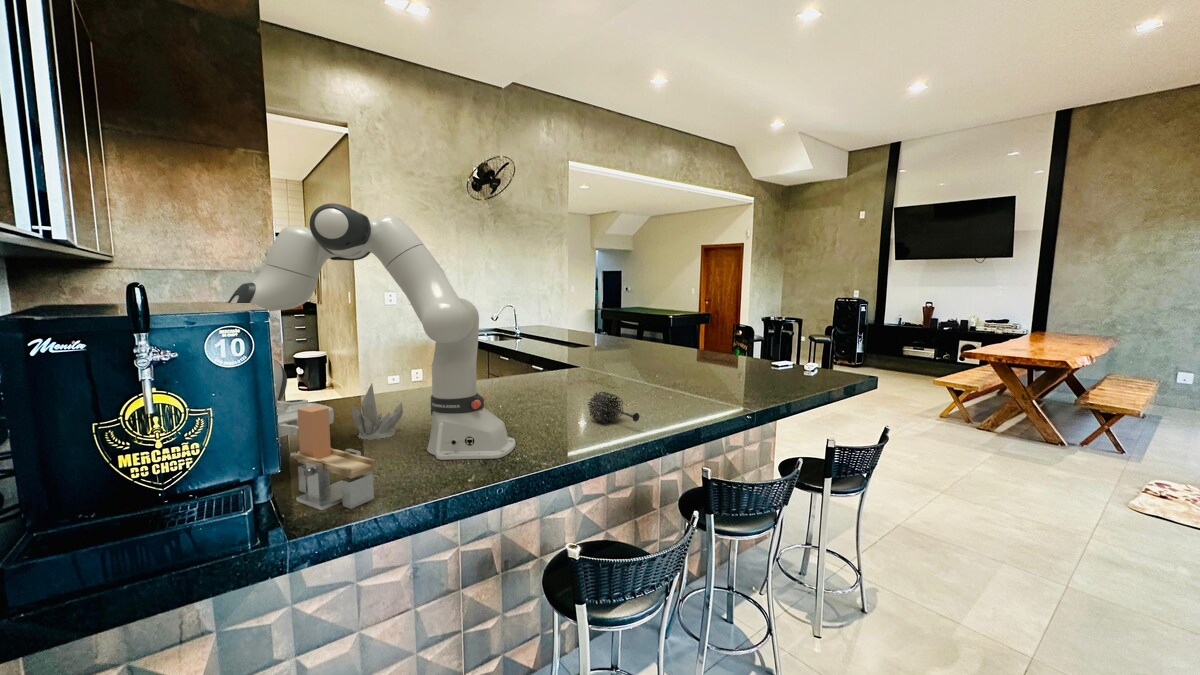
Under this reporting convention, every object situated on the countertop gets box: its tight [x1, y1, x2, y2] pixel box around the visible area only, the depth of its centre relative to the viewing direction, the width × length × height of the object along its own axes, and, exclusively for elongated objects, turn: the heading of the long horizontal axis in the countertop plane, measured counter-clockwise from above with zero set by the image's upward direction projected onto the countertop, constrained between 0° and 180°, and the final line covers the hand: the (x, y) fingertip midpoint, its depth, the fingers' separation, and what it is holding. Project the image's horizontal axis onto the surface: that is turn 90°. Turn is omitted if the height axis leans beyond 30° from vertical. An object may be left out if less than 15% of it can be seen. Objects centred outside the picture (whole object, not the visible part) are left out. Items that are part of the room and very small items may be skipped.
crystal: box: [351, 383, 404, 441], centre depth 135 cm, size 10×13×15 cm
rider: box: [297, 406, 332, 459], centre depth 98 cm, size 5×4×10 cm
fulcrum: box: [295, 448, 375, 511], centre depth 96 cm, size 16×11×8 cm
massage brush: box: [587, 391, 640, 425], centre depth 148 cm, size 9×22×9 cm, turn 39°
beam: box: [293, 447, 377, 478], centre depth 95 cm, size 17×6×2 cm, turn 62°
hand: (304, 429), depth 100 cm, fingers closed
